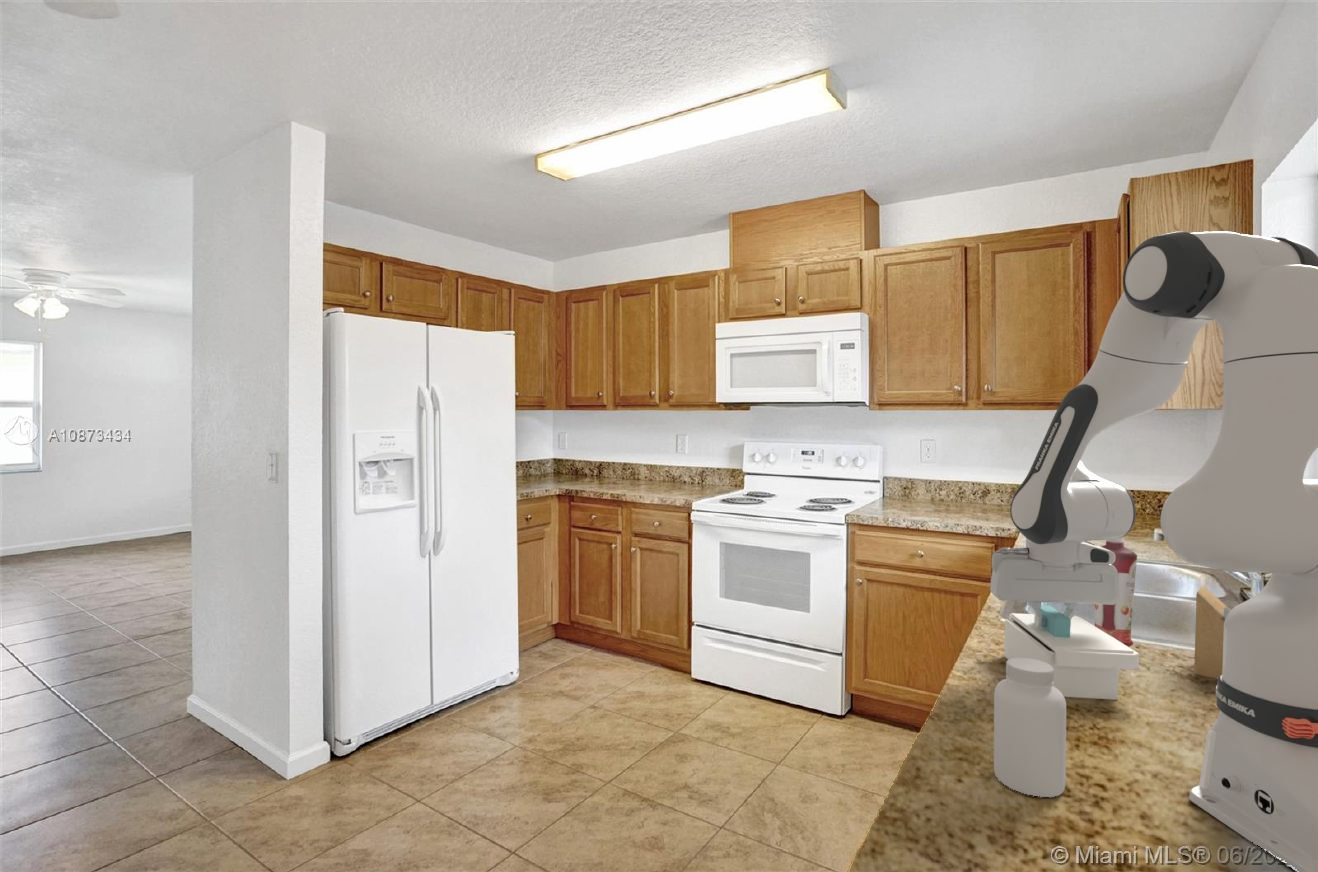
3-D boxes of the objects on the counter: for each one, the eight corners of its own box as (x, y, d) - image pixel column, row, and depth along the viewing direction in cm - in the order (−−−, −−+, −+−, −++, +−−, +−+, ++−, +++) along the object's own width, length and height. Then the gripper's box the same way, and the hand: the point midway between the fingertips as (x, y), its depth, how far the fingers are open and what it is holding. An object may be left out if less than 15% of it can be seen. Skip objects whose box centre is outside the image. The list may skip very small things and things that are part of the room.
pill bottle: (1000, 758, 90) (1003, 648, 89) (1070, 779, 85) (1073, 663, 84) (985, 784, 84) (988, 666, 83) (1059, 808, 79) (1062, 682, 78)
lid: (1141, 670, 107) (1142, 633, 107) (1057, 665, 109) (1058, 629, 108) (1079, 629, 127) (1080, 598, 127) (1009, 626, 129) (1009, 595, 129)
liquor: (1128, 655, 129) (1132, 511, 128) (1085, 645, 134) (1088, 507, 133) (1139, 647, 133) (1142, 507, 133) (1096, 637, 139) (1100, 503, 138)
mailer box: (1117, 699, 109) (1119, 656, 108) (1045, 695, 110) (1046, 652, 110) (1066, 659, 127) (1067, 621, 126) (1004, 656, 128) (1005, 619, 128)
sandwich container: (1313, 700, 109) (1316, 609, 109) (1193, 674, 120) (1196, 591, 119) (1313, 685, 115) (1316, 599, 115) (1199, 662, 126) (1201, 583, 125)
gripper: (998, 550, 116) (996, 629, 116) (1126, 554, 113) (1123, 634, 114) (985, 543, 122) (984, 618, 123) (1106, 546, 120) (1104, 623, 120)
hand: (1052, 626), depth 118 cm, fingers closed on lid, 2 cm apart
